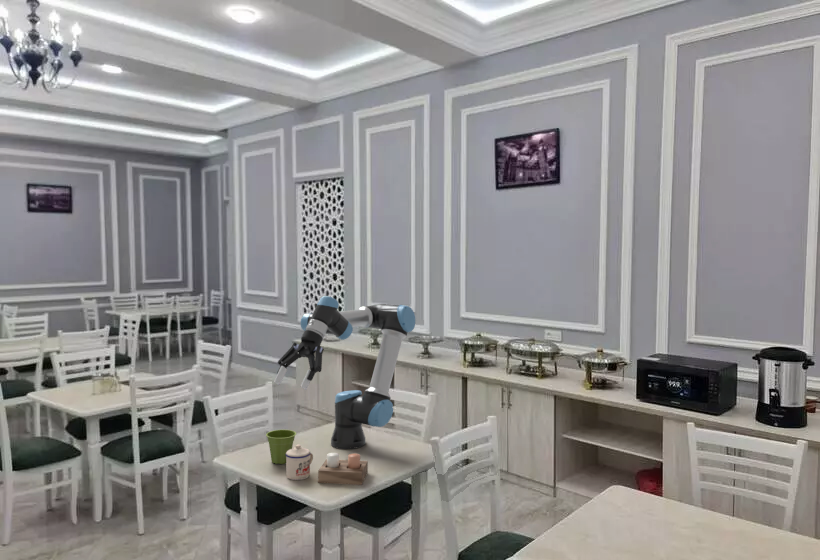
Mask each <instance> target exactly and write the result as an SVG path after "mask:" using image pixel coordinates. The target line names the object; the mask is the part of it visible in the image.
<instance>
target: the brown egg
mask: <svg viewBox="0 0 820 560" xmlns="http://www.w3.org/2000/svg"><path fill="white" fill-rule="evenodd" d="M347 460H348V468H350V469H360V461H361V454H359V453H350V454H348V455H347Z"/></svg>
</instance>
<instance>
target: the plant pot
mask: <svg viewBox="0 0 820 560" xmlns="http://www.w3.org/2000/svg"><path fill="white" fill-rule="evenodd" d="M296 435H297V432H296V431H294V430H291V429H274V430H271V431H268V432H266V434H265V436H266V437H267V442H268V447H269V452H270V458H271V459H270V460H271V463H273V464H274V463H275V465H278V464H281V465H284V464H286V452H287V451H288V450H290V449H293V445H294V441H295V437H296Z"/></svg>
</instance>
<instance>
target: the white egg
mask: <svg viewBox="0 0 820 560" xmlns="http://www.w3.org/2000/svg"><path fill="white" fill-rule="evenodd" d="M326 459H327V467H328V468H338V467H339V460H340V454H339V453H338V452H329V453H327V454H326Z"/></svg>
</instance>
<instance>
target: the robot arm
mask: <svg viewBox="0 0 820 560" xmlns="http://www.w3.org/2000/svg"><path fill="white" fill-rule="evenodd" d="M339 306H340V305H339V301H338V300H337V299H336V298H334V297H332V296H328V295H324V296H322V297H320V299H319V301H318V302H317V304H316V306H315V309H314V310H313V313H305V314H303V316H302V317H301V319H300V327H301V330H302V331H303V332H302V336H301V337H300V343H299V344H298V343H297V342H293V344H291V347H289V349H287V351H286V352H285V353H284V354H283V356H281V358H280V359H279V360H277V364H278V365H279V368H278V370H277V372H276V376H275V378H274V379H273V383H275V384H276V385H277V386H281V383H282V381H283V379H284V377H285V375H286V373H287V371H288V367H290V365H292V364H293V363H295V361H297V360H298V359H301V358H307V360H308V364H309V368H308V369H307V371H306V373H305V374H304V377H303V380H302V381H301V384H300V388H301V389H303V390H305V391H307V389H308V387H309V385H310V382H311V381H313V379H314V377H315V374H316V373H318V372H319V373H321V372H322V364H323V353H324V351H325V349H324V347H322V346H321V345H322V342H323V340H324V338H325V336H326V335H332V336H335V337H336V338H337V339H339V340H342V341H343V340H344V341H345V340H347V339H348V338H350V337H351V336H352V333H353V331H354V330H353V329H354V328H357V327H360V328H363V329H368V328H370V329H378V330H380V331H381V333H382V340H381V344H380V347H379V350H378V354H377V357H376V361H375V365H374V369H373V373H372V377H371V380H370V384H369V387H368V388H366V389H365V390H364V393H363V392H362V391H361V390H357V389H354V390H345V391H340V392H338V393H337V394H335V398H334V399H335V400H334V429H333V432H332V435H331V437H330V438H331V439H330V445H331V446H332V447H333V448H336V449H341V450H352V449H359V448H362V447H364V446H365V445H366V440H367V439H366V436H365V433H364V430H363V425H367V426H370V427H373V428H374V427H377V428H381V427H384V426H386V425H388V423H389V422H390V421H391V419H392V417H393V413H394V406H393V402H392V401H391V398H392V397H391V395H390V393H389V392H390V388H391V383H392V380H393V376H394V373H395V368H396V366H397V361H398V357H399V353H400V350H401V345H402V342H403V340H405V339H406V338H407V336H408V333H410V332H413V330H414V329H415V326H416V315H415V312H414V309H413V308H412V307H411V306H408V305H403V304H389V303H387V304H386V303H379V304H373V305H371V304H370V305H368V306H361V307H359V308H358V309H351V310H349V309H348V310H342V311H339V310H338V309H339Z"/></svg>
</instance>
